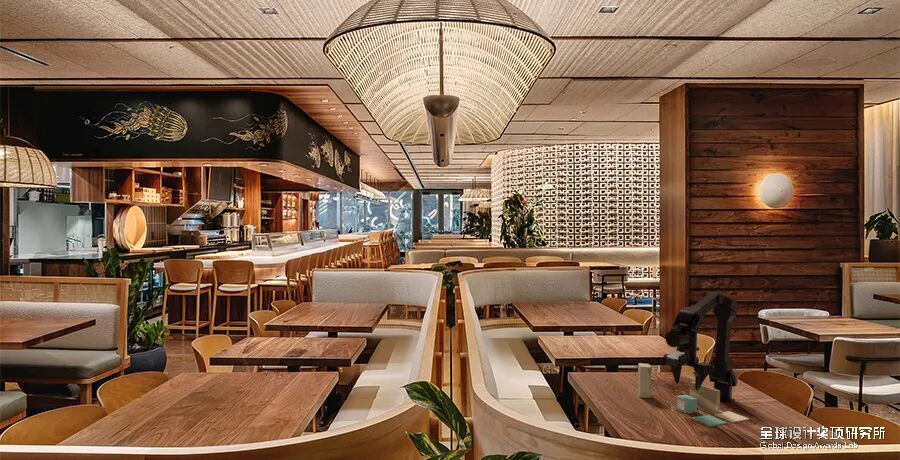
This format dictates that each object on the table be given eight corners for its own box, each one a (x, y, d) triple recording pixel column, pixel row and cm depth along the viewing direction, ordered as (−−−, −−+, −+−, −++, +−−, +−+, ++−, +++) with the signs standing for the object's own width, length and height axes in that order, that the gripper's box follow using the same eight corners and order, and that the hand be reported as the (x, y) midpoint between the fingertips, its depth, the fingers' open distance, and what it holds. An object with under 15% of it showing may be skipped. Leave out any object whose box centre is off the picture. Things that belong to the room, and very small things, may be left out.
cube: (685, 407, 206) (685, 394, 206) (696, 412, 202) (696, 398, 202) (675, 409, 204) (675, 396, 204) (686, 413, 200) (686, 400, 200)
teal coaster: (707, 415, 198) (707, 414, 198) (727, 423, 191) (727, 422, 191) (691, 418, 195) (691, 417, 195) (710, 426, 187) (710, 425, 187)
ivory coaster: (729, 412, 203) (729, 411, 203) (749, 419, 195) (749, 418, 195) (713, 414, 199) (713, 413, 199) (733, 422, 192) (733, 421, 192)
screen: (693, 402, 212) (694, 380, 212) (722, 414, 200) (723, 390, 200) (685, 404, 211) (686, 381, 211) (714, 415, 199) (715, 391, 199)
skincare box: (651, 398, 216) (652, 367, 216) (639, 397, 217) (640, 366, 217) (648, 393, 222) (649, 363, 222) (637, 392, 223) (638, 362, 223)
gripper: (652, 340, 208) (651, 381, 208) (692, 351, 191) (691, 396, 191) (674, 338, 213) (673, 378, 213) (715, 349, 196) (714, 393, 196)
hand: (686, 386), depth 203 cm, fingers open, 9 cm apart
